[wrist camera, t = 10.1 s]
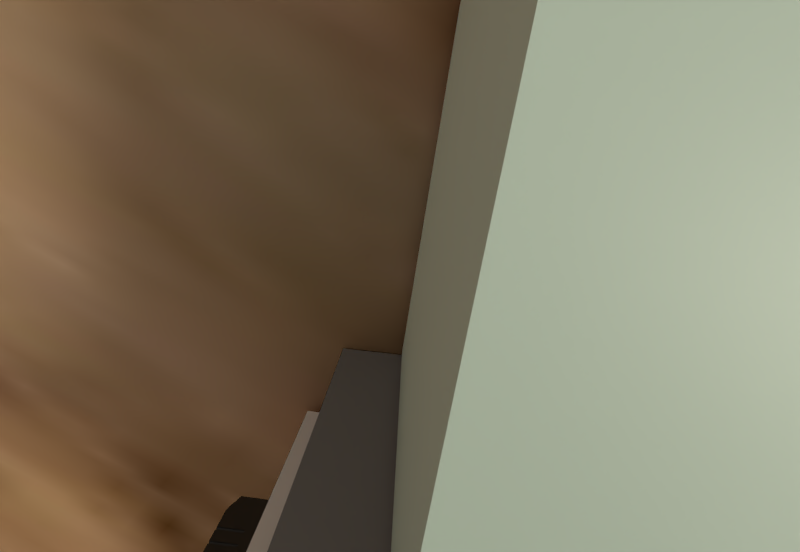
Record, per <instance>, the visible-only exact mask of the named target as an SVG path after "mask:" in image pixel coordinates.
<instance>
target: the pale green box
mask: <svg viewBox="0 0 800 552" xmlns="http://www.w3.org/2000/svg"><path fill="white" fill-rule="evenodd" d="M391 552H800V0H461V2H460V8H459V14H458V20H457V26H456V32H455V38H454V44H453V50H452V56H451V62H450V68H449V74H448V80H447V86H446V92H445V98H444V104H443V110H442V116H441V122H440V128H439V134H438V140H437V146H436V152H435V158H434V164H433V170H432V176H431V182H430V188H429V194H428V200H427V206H426V212H425V218H424V224H423V230H422V236H421V242H420V248H419V254H418V260H417V266H416V272H415V278H414V284H413V290H412V296H411V302H410V308H409V314H408V320H407V326H406V332H405V338H404V344H403V350H402V361H401V379H400V397H399V415H398V434H397V452H396V470H395V488H394V506H393V524H392V542H391Z"/></svg>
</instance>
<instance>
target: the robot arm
mask: <svg viewBox="0 0 800 552" xmlns="http://www.w3.org/2000/svg"><path fill="white" fill-rule="evenodd" d="M318 415H319V412H313V411H307V413H306V416H305V418H304V420H303V422H302V425H301V427H300V429H299V432H298V434H297V436H296V439H295V441H294V443H293V445H292V448H291V450H290V452H289V455H288V457H287V459H286V462H285V464H284V466H283V468H282V471H281V473H280V475H279V478H278V480H277V482H276V485H275V487H274V489H273V491H272V494H271V496H270V498H269V500H265V499H258V498H250V497H243V496H241V497H240V498H239V499H238V500H237V501H236V502H234V503H233V504H232V505H231V506H230V507H229V508H228V509H227V510H226V511H225V513H224V515H223V517H222V519H221V520H220V522H219V524H218V526H217V529H216V530H215V531H214V533H213V535H212V537H211V539H210V541H209V544H207V546H206V548H205V550H204V551H203V552H267V551H268V548H269V545H270V543H271V540H272V537H273V535H274V532H275V529H276V527H277V524H278V521H279V519H280V516H281V513H282V511H283V508H284V505H285V503H286V500H287V497H288V495H289V492H290V489H291V487H292V484H293V481H294V479H295V476H296V473H297V471H298V468H299V465H300V463H301V460H302V457H303V455H304V452H305V449H306V447H307V444H308V441H309V439H310V436H311V433H312V431H313V428H314V425H315V423H316V420H317V417H318Z"/></svg>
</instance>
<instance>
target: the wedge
mask: <svg viewBox="0 0 800 552" xmlns="http://www.w3.org/2000/svg"><path fill="white" fill-rule="evenodd" d="M401 361H402V355H398V354H389V353H380V352H371V351H362V350H353V349H344V348H343V351H342V353H341V356H340V359H339V361H338V364H337V367H336V369H335V372H334V375H333V377H332V380H331V383H330V385H329V388H328V391H327V393H326V396H325V399H324V401H323V404H322V407H321V409H320V412H319V415H318V417H317V420H316V423H315V425H314V428H313V431H312V433H311V436H310V439H309V441H308V444H307V447H306V449H305V452H304V455H303V457H302V460H301V463H300V465H299V468H298V471H297V473H296V476H295V479H294V481H293V484H292V487H291V489H290V492H289V495H288V497H287V500H286V503H285V505H284V508H283V511H282V513H281V516H280V519H279V521H278V524H277V527H276V529H275V532H274V535H273V537H272V540H271V543H270V545H269V548H268V551H267V552H391V542H392V524H393V506H394V488H395V470H396V452H397V434H398V415H399V397H400V379H401Z"/></svg>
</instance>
